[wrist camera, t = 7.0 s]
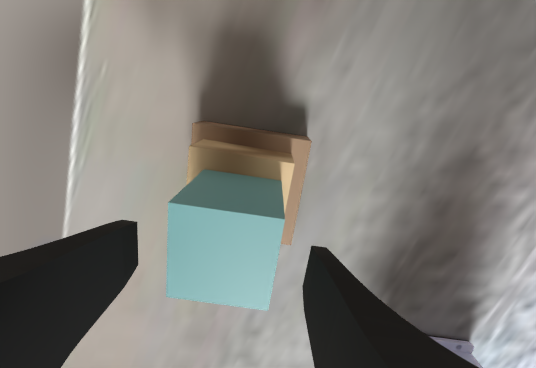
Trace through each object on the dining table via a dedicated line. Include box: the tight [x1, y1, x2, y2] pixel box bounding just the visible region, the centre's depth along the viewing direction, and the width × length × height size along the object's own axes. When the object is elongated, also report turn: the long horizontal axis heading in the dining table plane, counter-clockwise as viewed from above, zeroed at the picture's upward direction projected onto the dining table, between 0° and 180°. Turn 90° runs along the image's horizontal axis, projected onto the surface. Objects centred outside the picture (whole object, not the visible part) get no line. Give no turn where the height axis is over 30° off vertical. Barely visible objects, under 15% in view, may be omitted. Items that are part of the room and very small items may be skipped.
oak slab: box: [187, 139, 295, 213], centre depth 16 cm, size 6×6×3 cm
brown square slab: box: [191, 121, 312, 245], centre depth 19 cm, size 8×8×3 cm
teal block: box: [166, 169, 285, 311], centre depth 13 cm, size 4×4×5 cm
